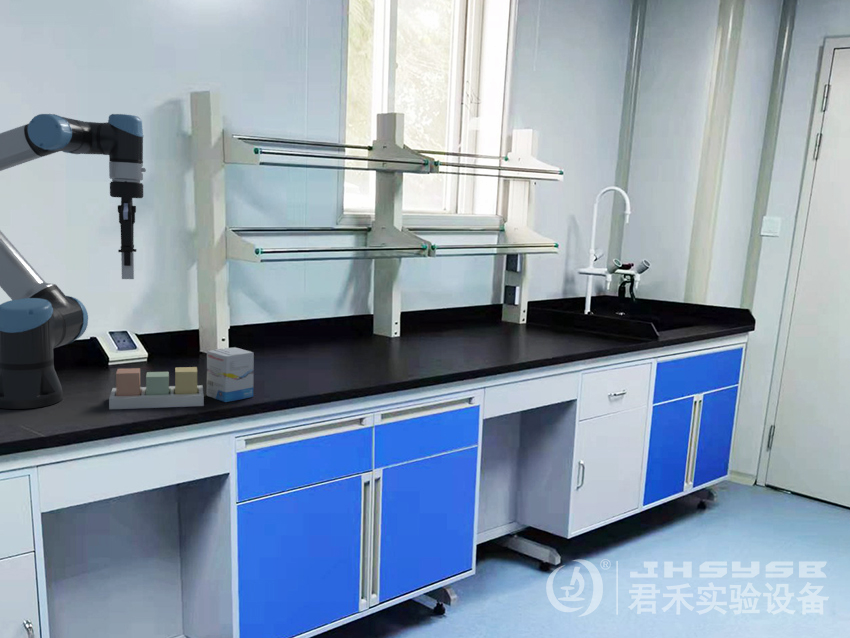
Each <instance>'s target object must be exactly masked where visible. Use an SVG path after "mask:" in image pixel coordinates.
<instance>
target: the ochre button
mask: <svg viewBox="0 0 850 638" xmlns="http://www.w3.org/2000/svg"><path fill="white" fill-rule="evenodd" d="M174 369H175V371H174V372H175V377H174V379H175V380H174V381H175V383H174V384H175V385H174V386H175V394H197V386H198V366H192V367H191V366H189V367H187V366H186V367H183V366H182V367H181V366H180V367H175V368H174Z"/></svg>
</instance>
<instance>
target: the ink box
mask: <svg viewBox="0 0 850 638" xmlns="http://www.w3.org/2000/svg"><path fill="white" fill-rule="evenodd" d="M254 353H255V352H254V351H251V350H246V349H242V348H239V347H236V346H234V347H225V348H216V349H213V350H207V351H206V396H207V397H210V398H212V399H215V400H218V401H221V402H224V403H227V402H228V403H229V402H234V401H239V400H243V399H245V400H246V399H249V398H253V397H254V375H255V373H254V372H255V371H254V368H255V367H254V364H255V363H254V361H255V360H254V359H255V358H254V357H255V355H254Z"/></svg>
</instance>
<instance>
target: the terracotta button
mask: <svg viewBox="0 0 850 638" xmlns="http://www.w3.org/2000/svg"><path fill="white" fill-rule="evenodd" d="M115 378H116V379H115V388H116V395H117V396H140V387H141V368H139V367H138V368H137V367H136V368H117V370H116V372H115Z"/></svg>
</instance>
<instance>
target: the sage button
mask: <svg viewBox="0 0 850 638" xmlns="http://www.w3.org/2000/svg"><path fill="white" fill-rule="evenodd" d="M169 386H170V372H169V371H147V372H146V375H145V387H146V395H169Z"/></svg>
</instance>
